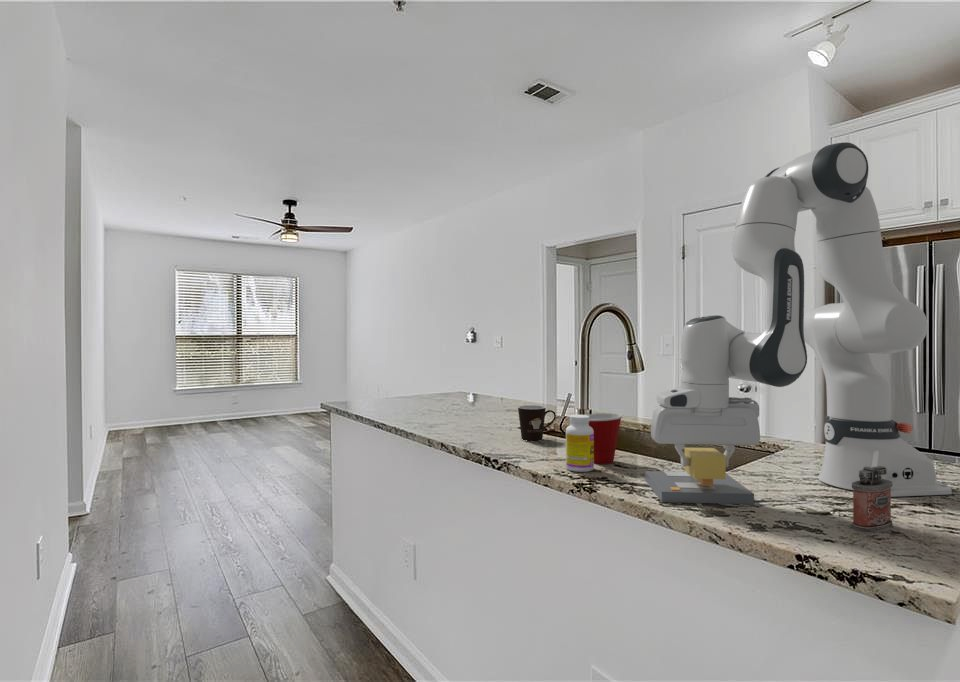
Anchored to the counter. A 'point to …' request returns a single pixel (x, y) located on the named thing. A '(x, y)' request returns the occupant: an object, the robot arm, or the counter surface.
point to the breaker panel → (696, 489)
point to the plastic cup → (605, 436)
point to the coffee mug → (533, 421)
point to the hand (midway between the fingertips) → (704, 466)
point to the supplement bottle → (579, 444)
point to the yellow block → (706, 463)
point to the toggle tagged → (706, 482)
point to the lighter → (872, 501)
